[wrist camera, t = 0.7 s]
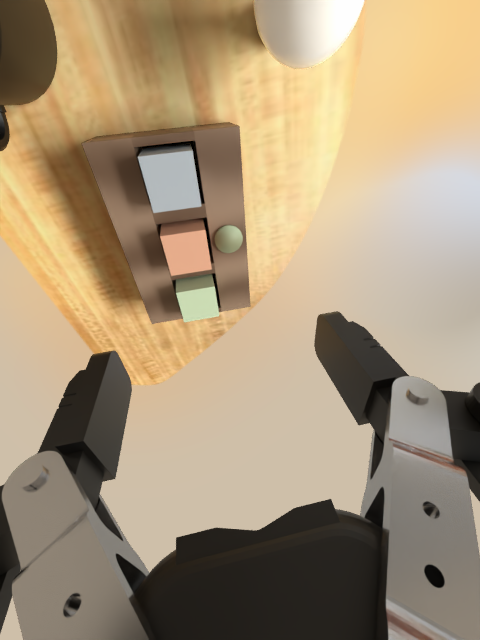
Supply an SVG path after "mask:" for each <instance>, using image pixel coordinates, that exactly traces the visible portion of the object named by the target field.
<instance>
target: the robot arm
mask: <svg viewBox="0 0 480 640" xmlns="http://www.w3.org/2000/svg"><path fill="white" fill-rule="evenodd" d="M315 351H316V354H317V357H318V358H319V360H320V362H321V363H322V365H323V367H324V368H325V370H326V372H327V373H328V375H329V377H330V378H331V380H332V382H333V383H334V385H335V387H336V388H337V390H338V391H339V393H340V395H341V397H342V398H343V400H344V402H345V403H346V405H347V407H348V408H349V410H350V412H351V413H352V415H353V416H354V418H355V420H356V422H357V423H358V425H362V424H367V423H370V424H371V425H372V427H373V428H374V431H373V435H372V443H371V452H370V460H369V468H368V477H367V484H366V489H365V493H364V497H363V501H362V506H361V513H360V516H359V515H356V514H354V513H351V512H347V511H343V510H337V509H335V508H334V506H333V503H332V501H331V499H329V500H325V501H321V502H317V503H313V504H309V505H305V506H301V507H297V508H294V509H292V510H291V511H289V512H288V513H286V514H285V515H283V516H281V517H280V518H278V519H276V520H275V521H273V522H272V523H270V524H269V525H267V526H265V527H264V528H262V529H260V530H257V531H252V530H239V529H226V528H213V529H209V530H205V531H201V532H197V533H193V534H189V535H185V536H181V537H177V538H176V550H175V551H173V552H171V553H170V554H169V555H168V556H166V557H165V558H164V559H163V560H162V561H160V562H159V564H157V565H156V566H155V567H154V569H152V571H151V572H150V573H149V571H148V570H147V568H146V567H145V565H144V563H143V562H142V560H141V559H140V557H139V556H138V555H137V553H136V552H135V551H134V550H133V548H132V547H131V546H130V544H129V542H128V541H127V539H126V538H125V536H124V534H123V532H122V531H121V529H120V527H119V526H118V524H117V522H116V520H115V519H114V517H113V515H112V513H111V512H110V510H109V508H108V507H107V505H106V503H105V501H104V500H103V498H102V497H101V495H100V490H101V485H102V482H103V481H107V480H112V479H115V477H116V472H117V466H118V461H119V456H120V451H121V445H122V440H123V434H124V429H125V424H126V419H127V413H128V408H129V403H130V397H131V391H132V388H131V381H130V377H129V375H128V373H127V371H126V369H125V367H124V365H123V363H122V361H121V359H120V357H119V355H118V353H117V352H116V351H109V352H103V353H98V354H93V355H92V356H91V358H90V360H89V363H88V365H87V368H86V370H81V371H79V372H78V373H77V374H76V375H75V377H74V378H73V379H72V380H71V381H70V382H69V384H68V386H67V388H66V390H65V393H64V395H63V396H64V398H62V399H61V402H60V404H59V409H57V411H56V413H55V416H54V418H53V420H52V422H51V424H50V427H49V429H48V431H47V433H46V436H45V438H44V440H43V442H42V445H41V447H40V449H39V451H38V453H37V454H36V455H34V456H32V457H30V458H28V459H27V460H25V461H24V462H23V463H22V464H21V465H19V466H18V467H17V468H16V469H15V470H14V471H13V473H12V474H11V475H10V476H9V478H8V480H7V481H6V483H5V484H4V485H2V486H0V632H1V629H2V626H3V623H4V620H5V617H6V614H7V611H8V607H9V604H10V601H11V598H12V595H13V600H14V604H15V608H16V612H17V616H18V620H19V624H20V628H21V632H22V636H23V640H480V555H479V549H478V542H477V535H476V529H475V523H474V516H473V509H472V503H471V496H470V489H471V491H472V492H473V493H474V495H475V496H476V497H477V499H478V500H479V501H480V383H478V384H476V385H475V386H474V388H473V389H472V390H471V392H470V393H467V392H454V391H442V390H439V389H438V388H437V387H436V386H435V385H433V384H432V383H430V382H428V381H426V380H424V379H421V378H418V377H413V376H409V375H408V374H407V373H406V372H405V371H404V370H403V369H402V368H401V367H400V366H399V364H398V363H397V362H396V361H395V360H394V359H393V358H392V357H391V356H390V355H389V354H388V353H387V351H386V350H384V348H383V347H381V346H380V344H379V343H378V342H377V341H376V340H375V339H373V336H372V335H371V334H370V333H369V332H368V331H367V330H366V329H365V328H364V327H362V326H360V325H358V324H357V323H355V322H353V321H352V322H348V321H347V320H346V319H345V318H344V316H342V314H341V313H340V312H332V313H326V314H320V315H319V316H318V318H317V327H316V335H315ZM469 488H470V489H469ZM20 570H21V571H20Z"/></svg>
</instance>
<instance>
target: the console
mask: <svg viewBox="0 0 480 640" xmlns="http://www.w3.org/2000/svg"><path fill="white" fill-rule="evenodd" d="M185 141H193V144H194V150H195V156H196V163H197V169H198V175H199V182H200V188H201V190H199V193H200V199H201V207H194V208H187V209H179V210H172V211H165V212H158V213H153V210H152V206H151V202H150V199H149V195H148V192H147V188H146V185H145V181H144V178H143V174H142V170H141V167H140V163H139V160H138V156H139V154H140V153H141V151H142V146H149V145H158V144H167V143H176V142H185ZM82 146H83V149H84V151H85V154H86V156H87V159H88V161H89V164H90V166H91V169H92V172H93V174H94V177H95V179H96V182H97V184H98V187H99V190H100V192H101V195H102V197H103V200H104V202H105V205H106V207H107V210H108V213H109V215H110V218H111V220H112V223H113V225H114V228H115V231H116V233H117V236H118V238H119V241H120V243H121V246H122V249H123V251H124V254H125V256H126V259H127V261H128V264H129V266H130V269H131V272H132V274H133V277H134V279H135V282H136V284H137V287H138V290H139V292H140V295H141V297H142V300H143V302H144V305H145V307H146V310H147V313H148V315H149V318H150V320H151V323H152V324H155V323H160V322H166V321H172V320H177V319H183V316H182V313H181V309H180V305H179V302H178V298H177V295H176V279H182V278H188V277H194V276H200V275H206V274H212V273H214V276H215V283H216V286H215V292H216V298H217V304H218V310H219V312H222V311H228V310H233V309H239V308H245V307H250V293H249V277H248V260H247V244H246V228H245V211H244V195H243V179H242V162H241V146H240V129H239V126H238V125H235V124H232V123H230V122H228V123H218V124H209V125H200V126H190V127H181V128H172V129H162V130H153V131H144V132H134V133H125V134H116V135H106V136H97V137H94V138H92V139H90V140H88V141H85V142H83V143H82ZM204 217H205V220H206V226H207V232H208V239H209V244H208V249H209V255H210V261H211V267H212V270H205V271H199V272H193V273H187V274H181V275H174V276H171V273H170V270H169V266H168V263H167V259H166V256H165V252H164V249H163V245H162V241H161V238H160V232H161V224H162V223H169V222H176V221H183V220H190V219H197V218H204Z"/></svg>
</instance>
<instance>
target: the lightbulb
mask: <svg viewBox="0 0 480 640" xmlns="http://www.w3.org/2000/svg"><path fill="white" fill-rule="evenodd" d="M253 2H254V14H255V20H256V24H257V30H258V34H259V36H260V38H261V40H262V42H263V44H264V45H265V47H266V49H267V50H268V52H269V53H270V54H271V55H272V57H273V58H274V59H275V60H277V61H278V62H279V63H281V64H282V65H284V66H286V67H289V68H292V69H308V68H312V67H314V66H317V65H319V64H321V63H323V62H324V61H326V60H327V59H328V58H330V57H331V56H332V55H333V54H334V53H335V52H336V51H337V50H338V49H339V48H340V47H341V46H342V45H343V43H344V42H345V41H346V39H347V38H348V36H349V35H350V33H351V31H352V30H353V28H354V26H355V24H356V22H357V20H358V17H359V15H360V12H361V10H362V7H363V4H364V0H253Z"/></svg>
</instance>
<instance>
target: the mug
mask: <svg viewBox="0 0 480 640" xmlns="http://www.w3.org/2000/svg"><path fill="white" fill-rule="evenodd" d="M56 64H57V44H56V36H55V31H54V26H53V23H52V20H51V16H50V13H49V10H48V8H47V5H46V3H45V0H0V151H3V150H4V149H5V148H6V147H7V144H8V142H9V135H10V134H9V126H8V122H7V119H6V115H5V113H6V110H5V107H4V105H21V104H26V103H30V102H32V101H34V100H36V99H38V98H39V97H40V96H41V95H43V94H44V93H45V92H46V90H47V89H48V88H49V86H50V84H51V82H52V80H53V78H54V74H55V70H56Z"/></svg>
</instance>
